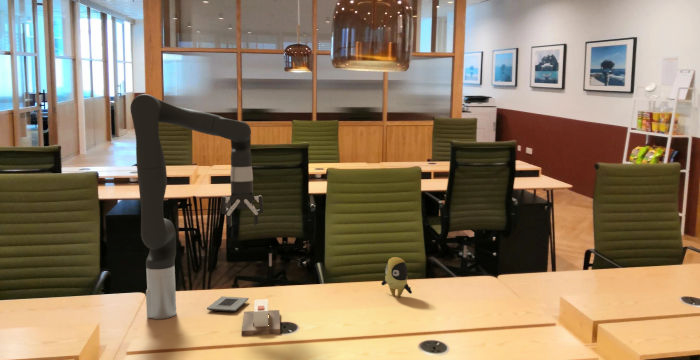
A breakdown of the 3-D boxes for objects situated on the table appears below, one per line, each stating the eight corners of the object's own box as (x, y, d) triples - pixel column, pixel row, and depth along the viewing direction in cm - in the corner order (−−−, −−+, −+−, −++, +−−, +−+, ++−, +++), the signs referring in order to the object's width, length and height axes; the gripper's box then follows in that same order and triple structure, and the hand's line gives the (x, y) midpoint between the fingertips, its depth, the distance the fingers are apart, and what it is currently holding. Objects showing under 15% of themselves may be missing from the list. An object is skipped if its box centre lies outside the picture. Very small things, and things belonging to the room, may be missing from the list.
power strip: (254, 331, 192) (253, 310, 191) (255, 318, 204) (254, 298, 203) (268, 330, 192) (267, 309, 191) (268, 317, 204) (267, 297, 203)
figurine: (403, 303, 218) (404, 263, 216) (373, 293, 230) (373, 255, 228) (419, 298, 224) (419, 259, 222) (388, 289, 235) (389, 251, 234)
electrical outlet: (235, 315, 208) (235, 308, 207) (206, 313, 210) (206, 307, 209) (248, 303, 220) (248, 297, 220) (221, 301, 222) (221, 295, 222)
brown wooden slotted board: (241, 335, 188) (241, 330, 188) (244, 315, 206) (244, 311, 206) (280, 333, 190) (280, 328, 190) (279, 314, 207) (279, 310, 207)
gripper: (219, 181, 203) (221, 228, 205) (262, 180, 204) (263, 227, 206) (221, 178, 210) (222, 224, 212) (262, 177, 212) (263, 223, 214)
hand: (242, 225), depth 209 cm, fingers open, 8 cm apart
